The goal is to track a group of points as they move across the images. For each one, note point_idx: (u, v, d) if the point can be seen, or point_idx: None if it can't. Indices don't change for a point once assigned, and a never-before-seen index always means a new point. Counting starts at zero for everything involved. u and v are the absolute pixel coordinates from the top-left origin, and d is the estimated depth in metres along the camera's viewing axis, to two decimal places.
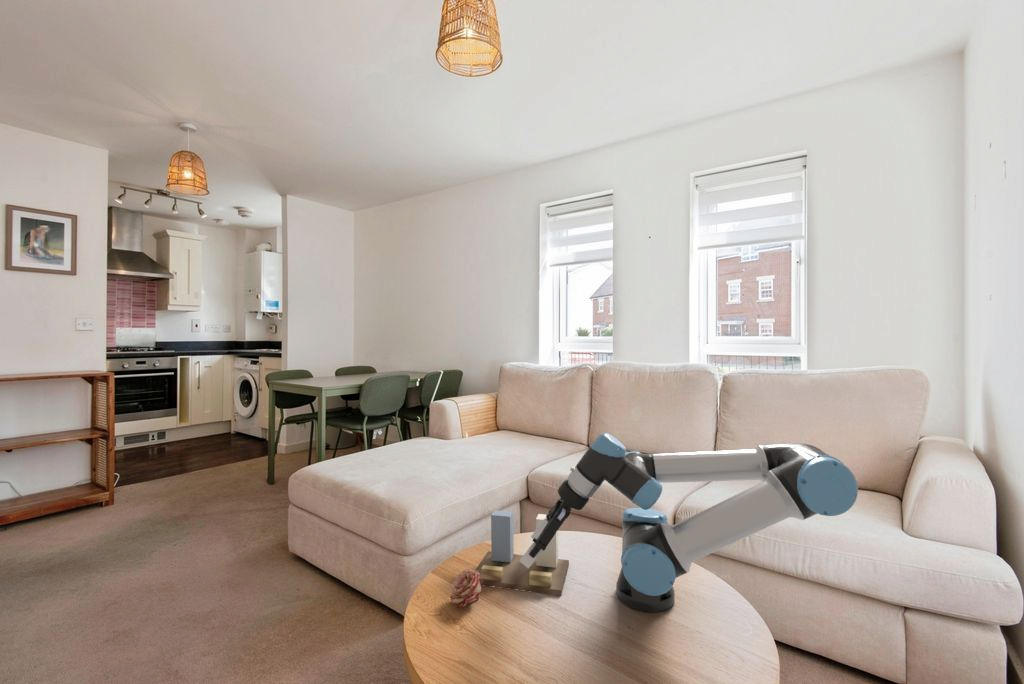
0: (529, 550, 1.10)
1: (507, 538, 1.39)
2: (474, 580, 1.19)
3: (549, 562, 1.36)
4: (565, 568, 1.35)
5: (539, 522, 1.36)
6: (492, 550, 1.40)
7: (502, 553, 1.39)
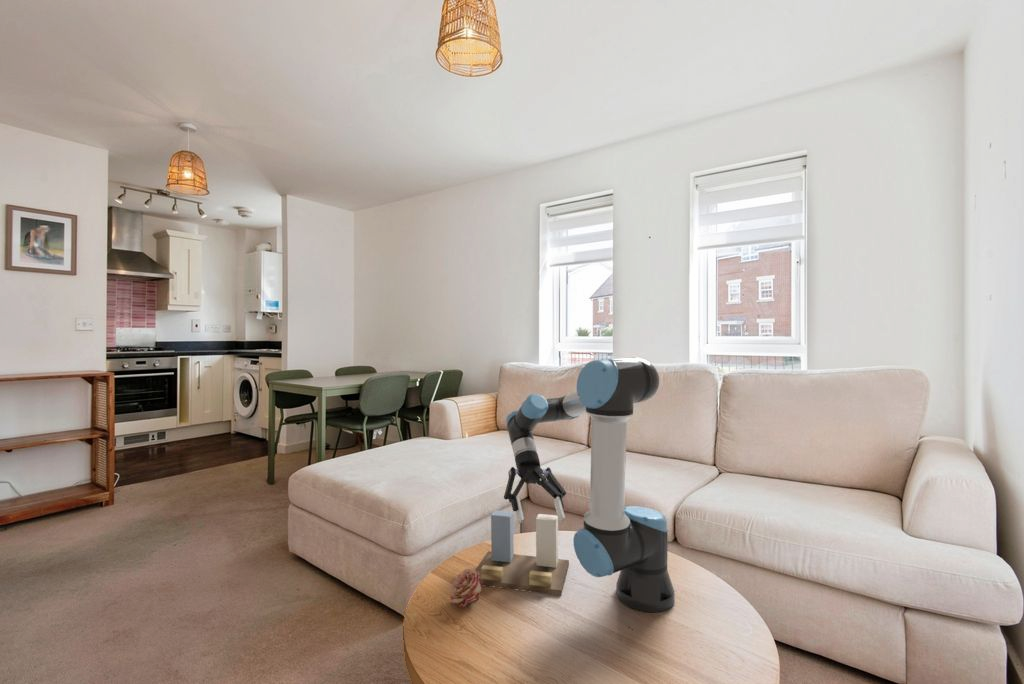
0: None
1: (507, 538, 1.39)
2: (474, 580, 1.19)
3: (549, 561, 1.36)
4: (565, 568, 1.35)
5: (539, 522, 1.36)
6: (492, 550, 1.40)
7: (502, 553, 1.39)
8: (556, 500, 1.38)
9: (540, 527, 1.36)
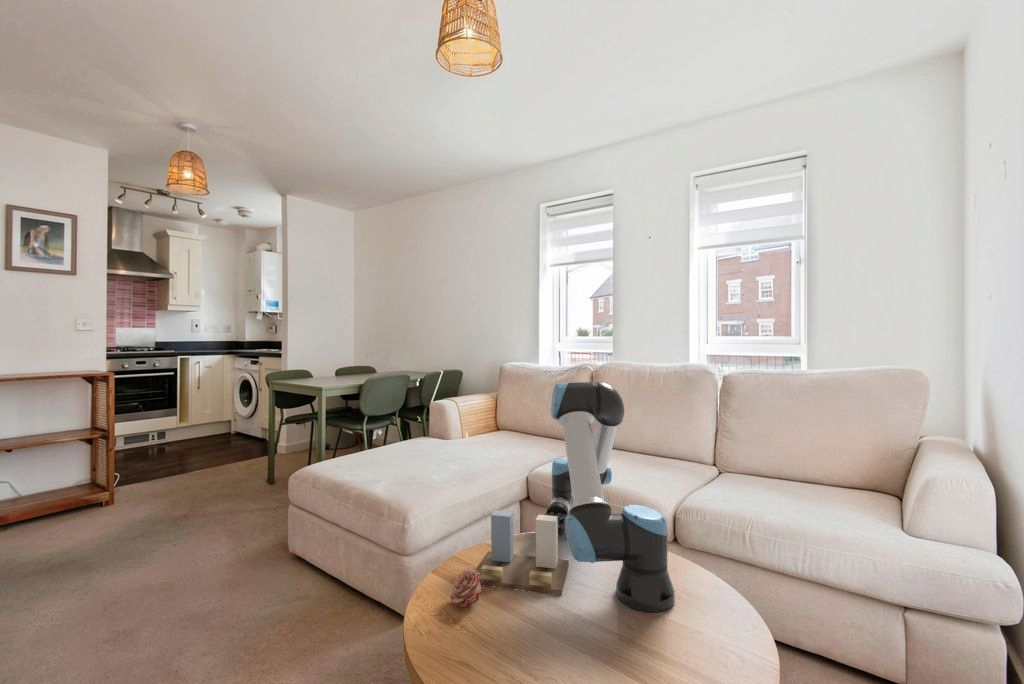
0: None
1: (507, 538, 1.39)
2: (474, 580, 1.19)
3: (549, 562, 1.35)
4: (565, 568, 1.35)
5: (539, 523, 1.36)
6: (492, 550, 1.40)
7: (502, 553, 1.39)
8: None
9: (540, 527, 1.36)
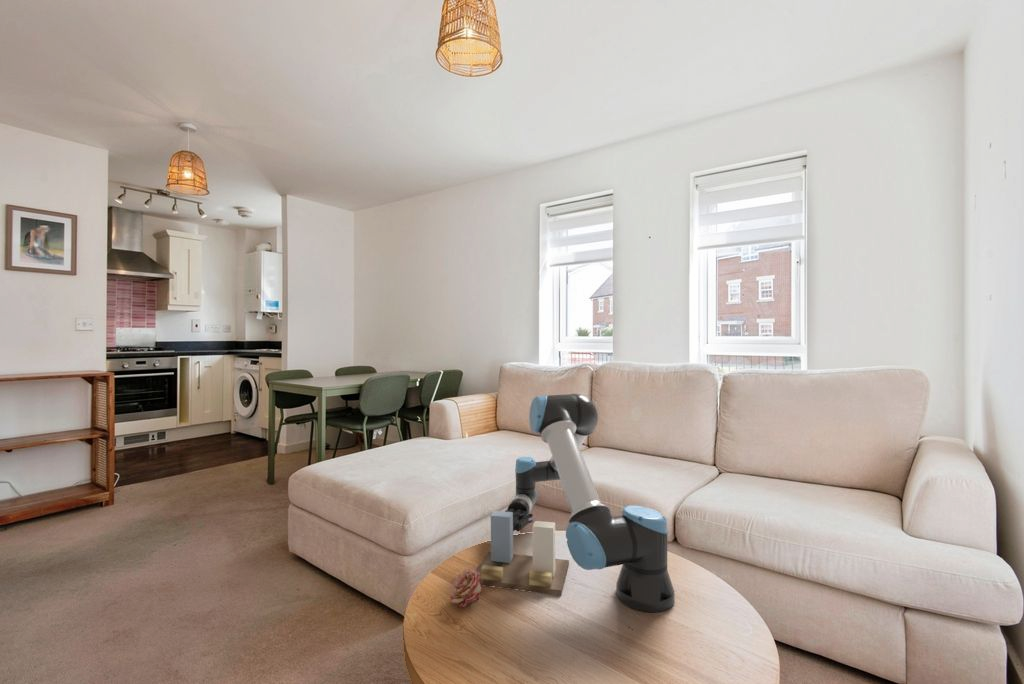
0: None
1: (506, 539, 1.38)
2: (474, 580, 1.19)
3: (546, 571, 1.30)
4: (565, 568, 1.35)
5: (536, 529, 1.31)
6: (491, 551, 1.39)
7: (501, 554, 1.39)
8: None
9: (537, 534, 1.31)
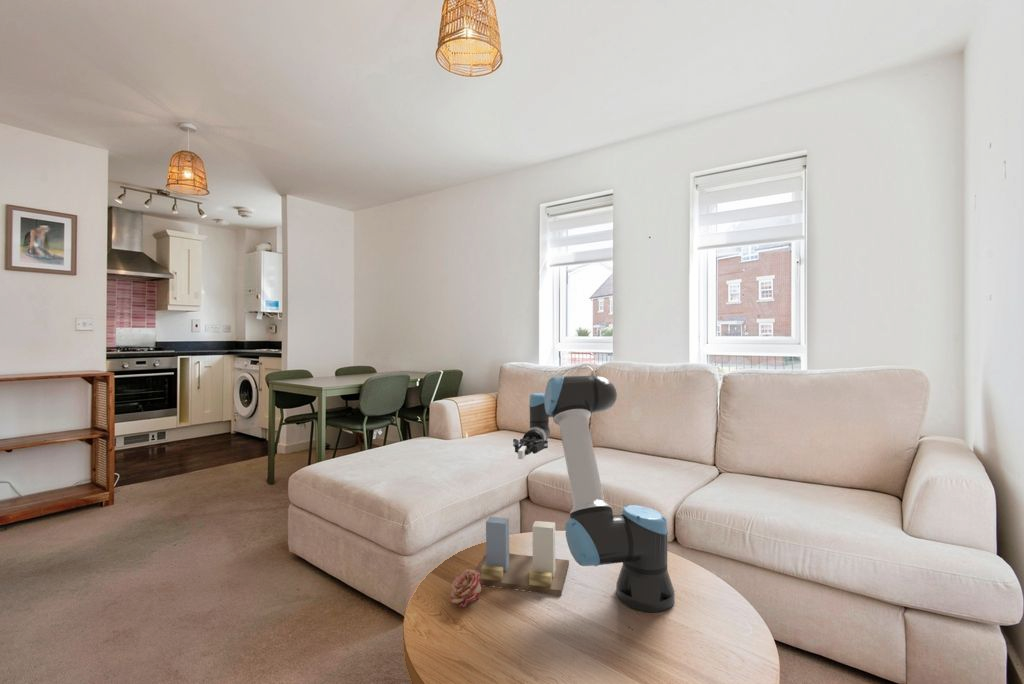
0: None
1: (502, 546, 1.34)
2: (474, 580, 1.19)
3: (546, 571, 1.30)
4: (565, 568, 1.35)
5: (536, 529, 1.31)
6: (486, 559, 1.35)
7: (497, 562, 1.34)
8: None
9: (537, 534, 1.31)
